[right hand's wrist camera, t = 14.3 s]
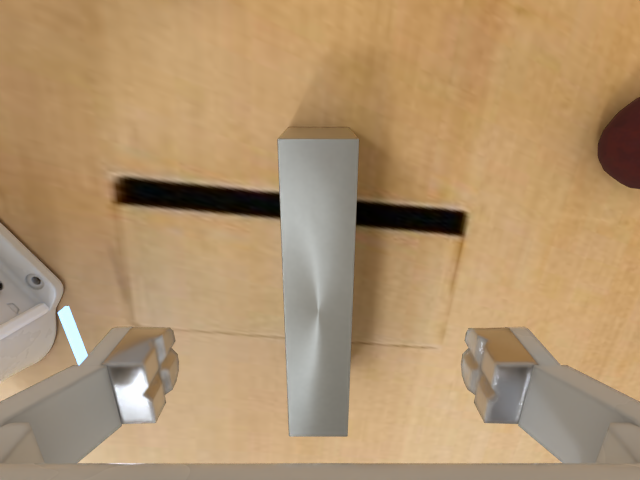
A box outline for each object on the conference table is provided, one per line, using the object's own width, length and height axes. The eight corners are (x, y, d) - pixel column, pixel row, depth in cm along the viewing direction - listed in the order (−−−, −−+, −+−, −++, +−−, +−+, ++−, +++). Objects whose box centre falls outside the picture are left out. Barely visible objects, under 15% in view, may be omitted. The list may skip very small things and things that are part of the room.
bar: (287, 127, 31) (277, 138, 24) (349, 127, 32) (359, 138, 24) (294, 369, 41) (288, 436, 33) (342, 369, 41) (347, 436, 33)
